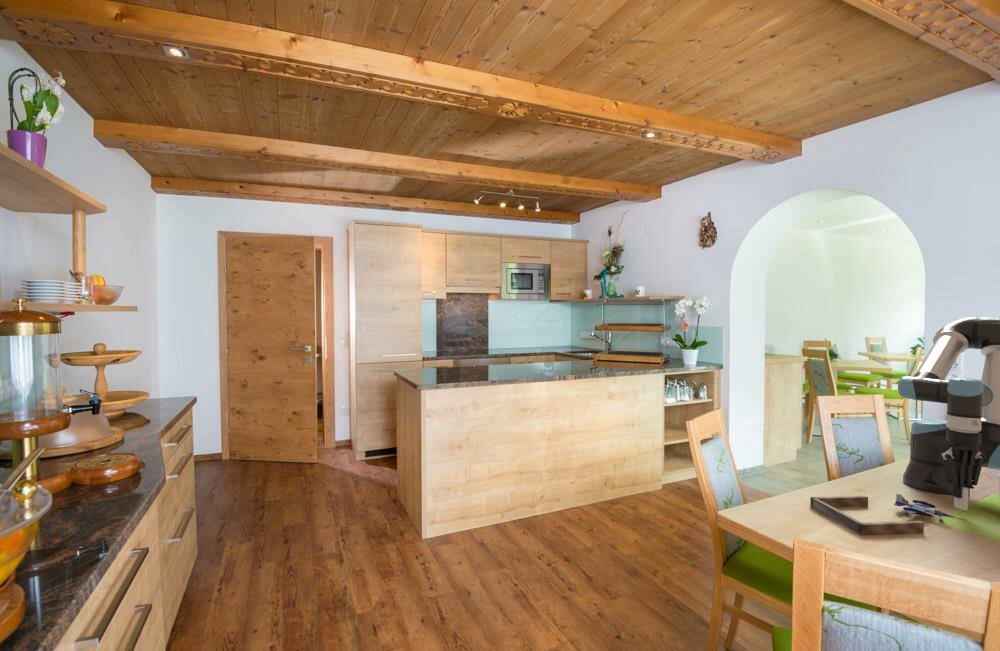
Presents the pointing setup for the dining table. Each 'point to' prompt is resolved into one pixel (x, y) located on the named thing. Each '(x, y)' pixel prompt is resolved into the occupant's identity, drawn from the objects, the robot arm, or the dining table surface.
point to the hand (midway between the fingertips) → (960, 508)
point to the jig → (872, 528)
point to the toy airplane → (919, 508)
